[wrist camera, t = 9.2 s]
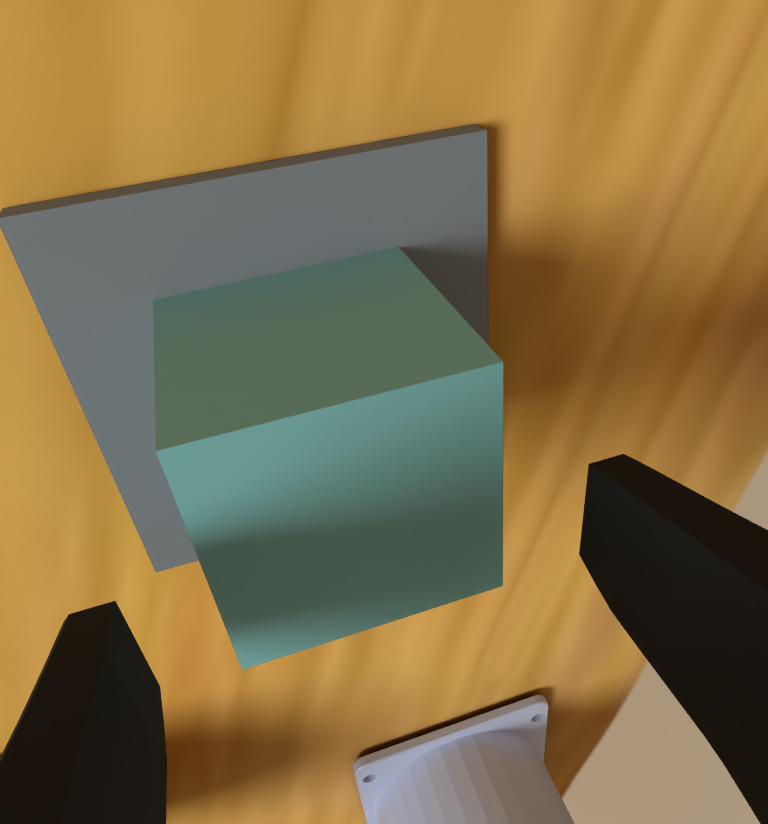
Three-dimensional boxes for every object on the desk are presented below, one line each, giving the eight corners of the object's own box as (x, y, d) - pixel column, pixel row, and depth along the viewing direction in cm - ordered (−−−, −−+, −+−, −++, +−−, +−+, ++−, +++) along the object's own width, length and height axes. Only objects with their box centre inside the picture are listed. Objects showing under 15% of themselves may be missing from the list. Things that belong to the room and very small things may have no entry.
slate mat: (480, 463, 18) (489, 477, 18) (155, 555, 17) (155, 572, 16) (474, 123, 13) (486, 130, 13) (2, 208, 12) (-4, 219, 11)
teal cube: (416, 437, 16) (502, 585, 12) (217, 491, 16) (242, 670, 12) (398, 246, 14) (504, 361, 10) (153, 299, 13) (155, 451, 9)
